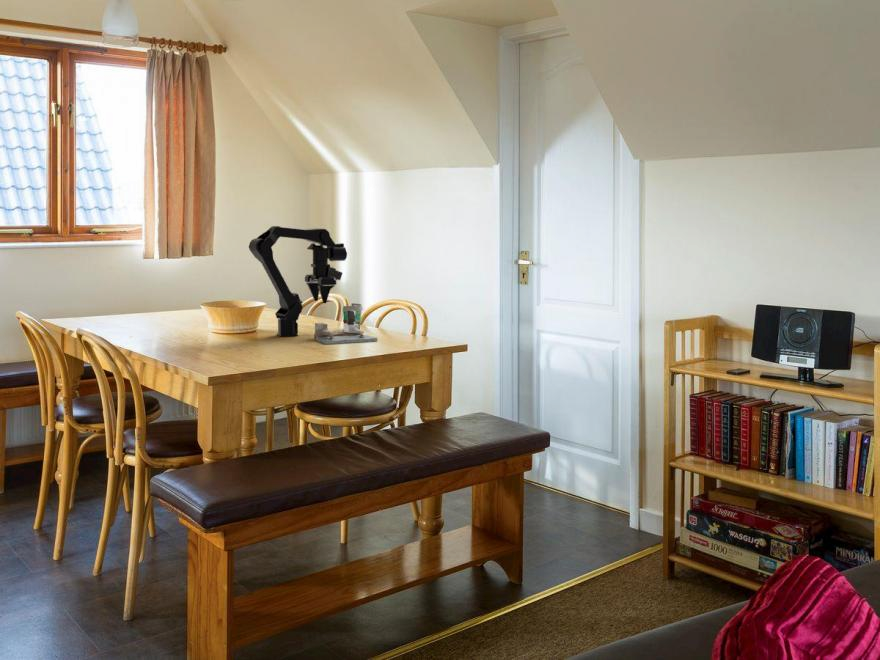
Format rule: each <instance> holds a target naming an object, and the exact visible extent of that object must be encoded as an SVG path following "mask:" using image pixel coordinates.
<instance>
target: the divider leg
mask: <svg viewBox="0 0 880 660" xmlns="http://www.w3.org/2000/svg"><path fill="white" fill-rule="evenodd" d="M343 332H347V333H360V336H363V335H364V332H365V331H364V329H363V330H362V329H361V328H360V329H359V324H355V311H354V310H348V311H347V323H344V322H343Z"/></svg>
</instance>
